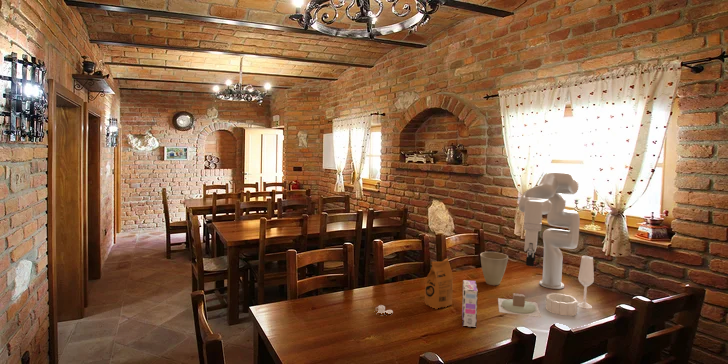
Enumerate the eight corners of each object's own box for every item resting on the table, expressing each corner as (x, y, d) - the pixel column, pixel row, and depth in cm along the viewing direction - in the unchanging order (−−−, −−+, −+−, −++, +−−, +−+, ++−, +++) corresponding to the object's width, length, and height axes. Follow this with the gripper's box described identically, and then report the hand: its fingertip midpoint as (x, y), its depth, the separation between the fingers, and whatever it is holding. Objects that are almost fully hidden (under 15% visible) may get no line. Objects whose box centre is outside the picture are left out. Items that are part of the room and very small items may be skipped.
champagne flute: (594, 309, 201) (597, 259, 199) (578, 307, 203) (581, 258, 200) (589, 303, 208) (592, 255, 205) (574, 302, 209) (577, 255, 207)
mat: (498, 299, 212) (498, 298, 212) (536, 303, 207) (536, 302, 207) (499, 313, 195) (499, 312, 195) (541, 318, 190) (541, 316, 190)
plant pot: (475, 284, 235) (476, 256, 233) (484, 277, 247) (485, 250, 246) (502, 289, 226) (503, 260, 225) (510, 282, 239) (511, 254, 237)
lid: (501, 299, 210) (501, 288, 210) (533, 303, 206) (534, 291, 206) (502, 311, 196) (502, 298, 195) (537, 315, 192) (537, 302, 191)
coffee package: (421, 303, 206) (422, 259, 204) (441, 299, 212) (442, 256, 210) (434, 310, 197) (436, 264, 195) (454, 305, 204) (456, 261, 201)
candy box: (476, 328, 179) (478, 290, 177) (462, 327, 180) (463, 289, 178) (474, 315, 192) (476, 280, 191) (461, 314, 193) (462, 279, 192)
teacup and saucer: (394, 313, 195) (394, 304, 194) (389, 320, 187) (389, 311, 187) (375, 310, 198) (376, 302, 197) (370, 317, 190) (370, 308, 190)
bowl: (544, 304, 207) (544, 292, 206) (573, 307, 203) (574, 295, 203) (547, 314, 194) (548, 301, 194) (578, 317, 191) (579, 305, 190)
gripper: (525, 223, 204) (523, 257, 206) (522, 229, 189) (520, 266, 190) (542, 224, 201) (540, 259, 203) (540, 230, 186) (538, 269, 187)
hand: (530, 263), depth 196 cm, fingers open, 9 cm apart
